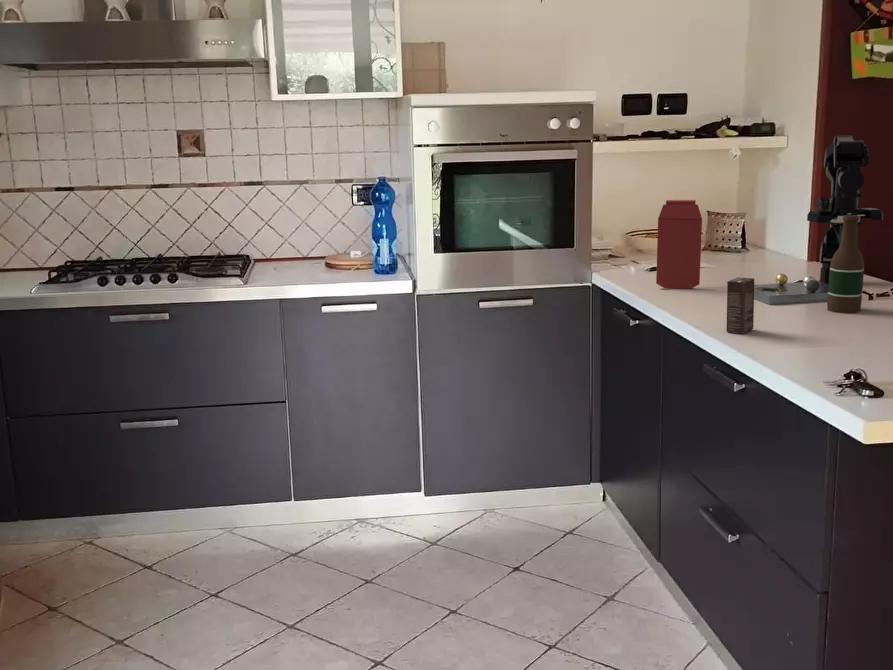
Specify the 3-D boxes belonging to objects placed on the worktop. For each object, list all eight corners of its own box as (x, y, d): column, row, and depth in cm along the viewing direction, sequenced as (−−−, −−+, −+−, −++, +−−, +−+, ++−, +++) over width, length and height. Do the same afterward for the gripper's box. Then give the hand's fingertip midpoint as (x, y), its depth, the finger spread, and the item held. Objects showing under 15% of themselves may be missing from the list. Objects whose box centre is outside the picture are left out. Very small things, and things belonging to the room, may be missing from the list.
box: (734, 327, 211) (737, 276, 209) (753, 329, 208) (756, 278, 206) (724, 332, 207) (726, 280, 204) (743, 334, 204) (746, 282, 201)
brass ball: (783, 283, 250) (784, 272, 250) (789, 285, 247) (790, 274, 246) (772, 284, 250) (773, 273, 249) (778, 286, 247) (779, 274, 246)
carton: (699, 286, 264) (702, 199, 258) (699, 289, 259) (702, 201, 254) (656, 285, 267) (659, 200, 261) (656, 288, 262) (658, 201, 257)
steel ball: (811, 286, 246) (811, 274, 245) (817, 288, 243) (818, 276, 242) (800, 286, 245) (800, 275, 244) (806, 289, 242) (807, 277, 241)
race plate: (817, 290, 253) (818, 281, 253) (850, 300, 238) (851, 291, 237) (740, 294, 250) (741, 285, 249) (769, 305, 235) (769, 295, 234)
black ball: (815, 290, 240) (816, 278, 239) (821, 292, 237) (822, 280, 236) (804, 290, 240) (804, 278, 239) (810, 293, 237) (811, 280, 236)
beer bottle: (845, 316, 220) (853, 217, 214) (819, 310, 227) (826, 215, 221) (867, 312, 223) (875, 215, 218) (841, 307, 230) (848, 213, 224)
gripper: (861, 185, 248) (857, 242, 252) (798, 188, 246) (794, 245, 249) (886, 188, 238) (881, 247, 241) (820, 191, 235) (816, 250, 239)
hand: (842, 247), depth 243 cm, fingers closed
